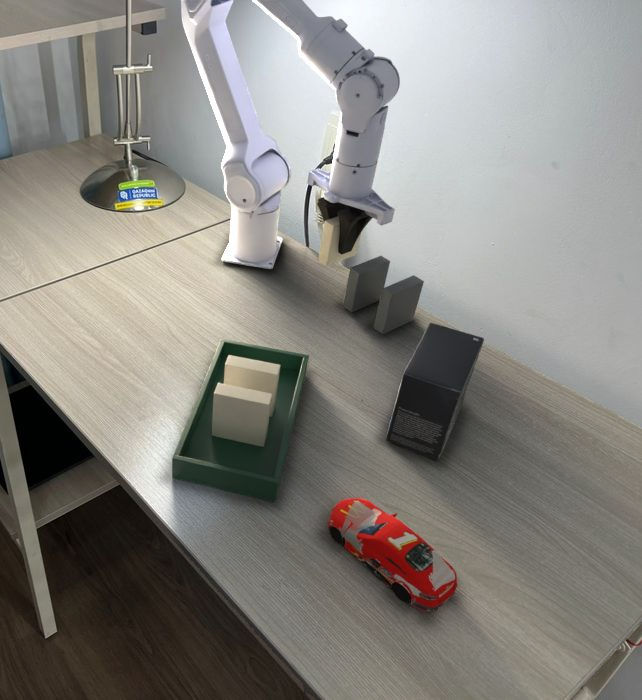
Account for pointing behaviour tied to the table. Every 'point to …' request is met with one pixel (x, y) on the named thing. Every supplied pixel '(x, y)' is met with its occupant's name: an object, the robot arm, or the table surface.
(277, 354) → the shallow dark green tray
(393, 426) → the small box
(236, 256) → the robot arm
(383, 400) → the table surface
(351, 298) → the grey twin slabs
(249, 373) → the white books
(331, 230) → the cream square block
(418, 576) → the race car
